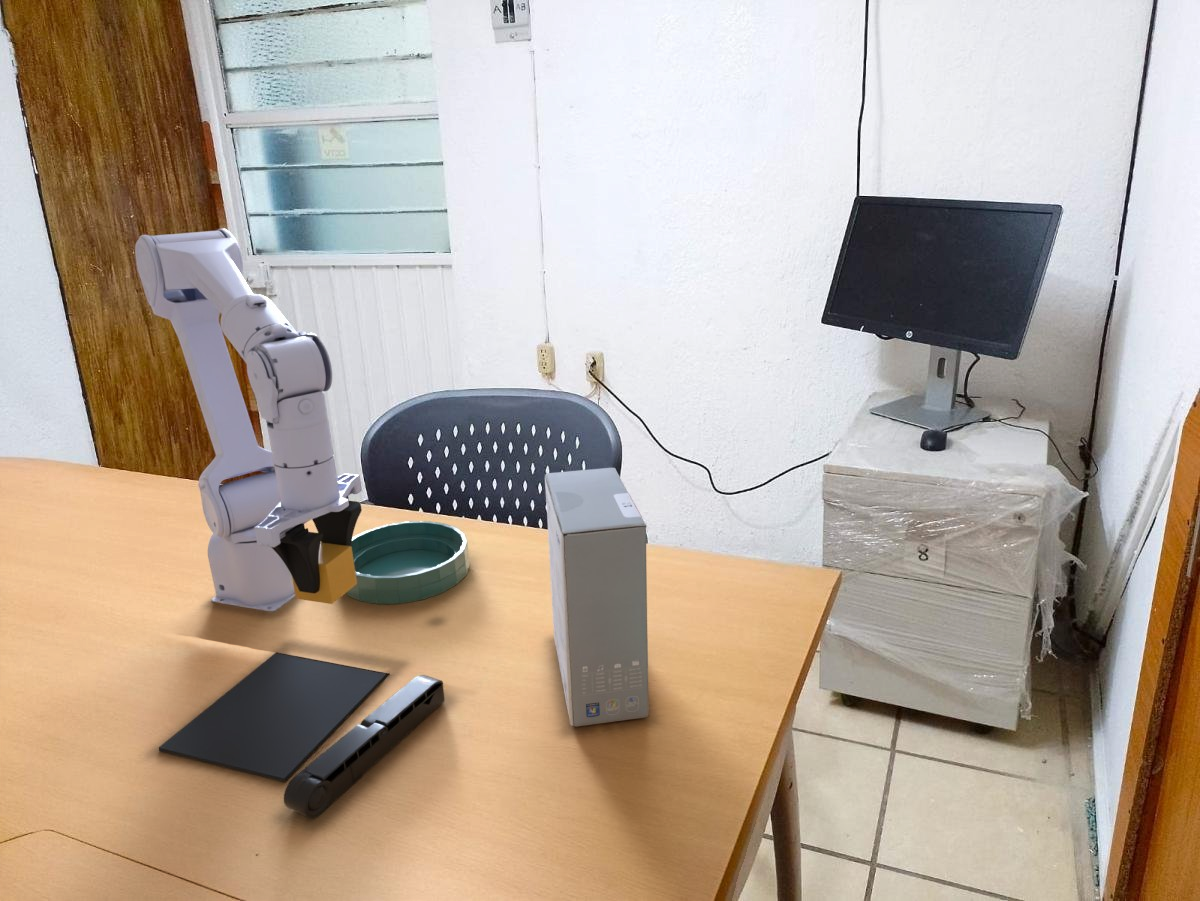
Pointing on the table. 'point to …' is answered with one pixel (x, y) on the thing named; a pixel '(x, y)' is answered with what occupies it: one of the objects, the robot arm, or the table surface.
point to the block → (332, 574)
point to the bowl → (408, 561)
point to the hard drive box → (598, 595)
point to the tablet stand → (362, 747)
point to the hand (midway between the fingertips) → (324, 579)
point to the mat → (275, 716)
